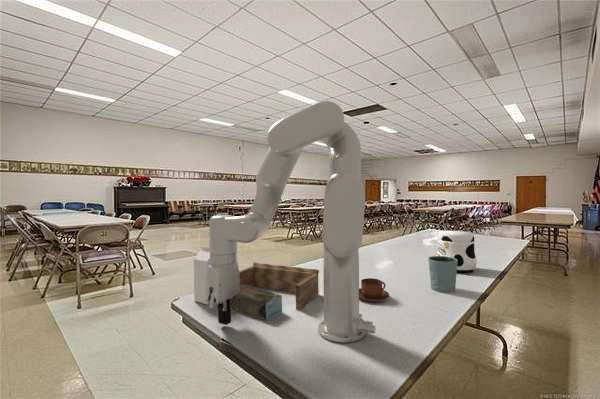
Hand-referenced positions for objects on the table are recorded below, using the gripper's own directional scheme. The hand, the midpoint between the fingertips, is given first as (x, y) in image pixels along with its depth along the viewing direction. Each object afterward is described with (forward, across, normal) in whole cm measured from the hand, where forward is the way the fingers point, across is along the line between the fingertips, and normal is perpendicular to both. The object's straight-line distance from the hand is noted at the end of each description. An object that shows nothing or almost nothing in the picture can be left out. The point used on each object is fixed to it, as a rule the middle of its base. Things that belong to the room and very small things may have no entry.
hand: (224, 322), depth 82 cm
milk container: (+1, -95, +62) cm, 113 cm away
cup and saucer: (+2, -40, +33) cm, 52 cm away
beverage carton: (+2, -14, 0) cm, 14 cm away
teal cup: (+1, -60, +56) cm, 82 cm away
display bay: (+1, -27, 0) cm, 27 cm away
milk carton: (+1, -14, -19) cm, 24 cm away
